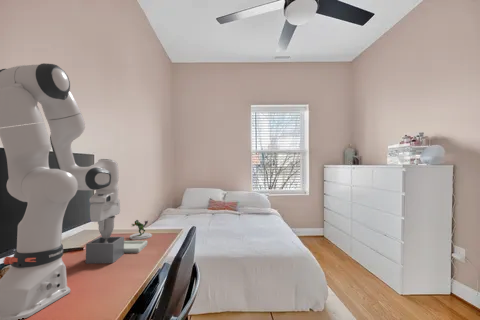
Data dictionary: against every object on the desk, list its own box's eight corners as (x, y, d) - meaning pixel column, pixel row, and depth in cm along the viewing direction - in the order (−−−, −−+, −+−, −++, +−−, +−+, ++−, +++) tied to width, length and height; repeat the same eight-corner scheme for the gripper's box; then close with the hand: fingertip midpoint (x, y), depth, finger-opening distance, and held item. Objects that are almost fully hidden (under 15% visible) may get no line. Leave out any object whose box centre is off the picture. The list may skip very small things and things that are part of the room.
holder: (112, 263, 106) (113, 243, 106) (85, 263, 105) (86, 243, 105) (123, 254, 117) (124, 236, 117) (99, 254, 116) (99, 236, 116)
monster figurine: (125, 237, 146) (125, 219, 146) (144, 233, 155) (144, 216, 156) (137, 241, 139) (137, 222, 139) (156, 236, 148) (156, 218, 148)
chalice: (92, 259, 110) (93, 217, 110) (107, 254, 116) (108, 214, 116) (103, 262, 106) (104, 219, 107) (118, 257, 112) (119, 216, 113)
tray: (138, 252, 119) (138, 248, 119) (110, 253, 118) (110, 248, 118) (147, 244, 132) (147, 240, 132) (121, 244, 131) (121, 240, 131)
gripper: (110, 194, 122) (109, 223, 122) (87, 198, 102) (86, 234, 101) (124, 194, 122) (123, 223, 122) (103, 198, 102) (102, 233, 101)
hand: (106, 228), depth 111 cm, fingers closed on chalice, 6 cm apart
